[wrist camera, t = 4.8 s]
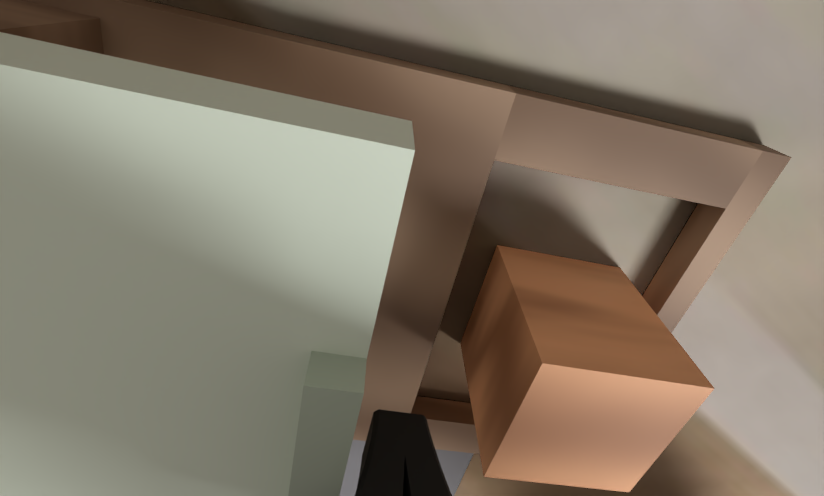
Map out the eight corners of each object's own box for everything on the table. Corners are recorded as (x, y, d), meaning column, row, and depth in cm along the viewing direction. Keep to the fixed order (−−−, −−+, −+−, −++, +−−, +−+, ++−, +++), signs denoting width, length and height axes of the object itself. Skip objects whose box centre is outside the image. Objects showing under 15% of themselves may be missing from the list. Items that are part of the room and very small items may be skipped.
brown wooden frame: (572, 443, 23) (625, 585, 17) (77, 383, 19) (-43, 534, 14) (763, 145, 15) (972, 237, 9) (-21, -39, 11) (-381, -58, 6)
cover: (311, 574, 15) (299, 661, 13) (-7, 551, 14) (-73, 645, 12) (412, 121, 7) (417, 171, 5) (-306, -35, 6) (-650, -43, 4)
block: (568, 358, 20) (629, 492, 14) (460, 342, 19) (483, 476, 14) (619, 266, 17) (714, 388, 12) (497, 244, 16) (542, 363, 11)
